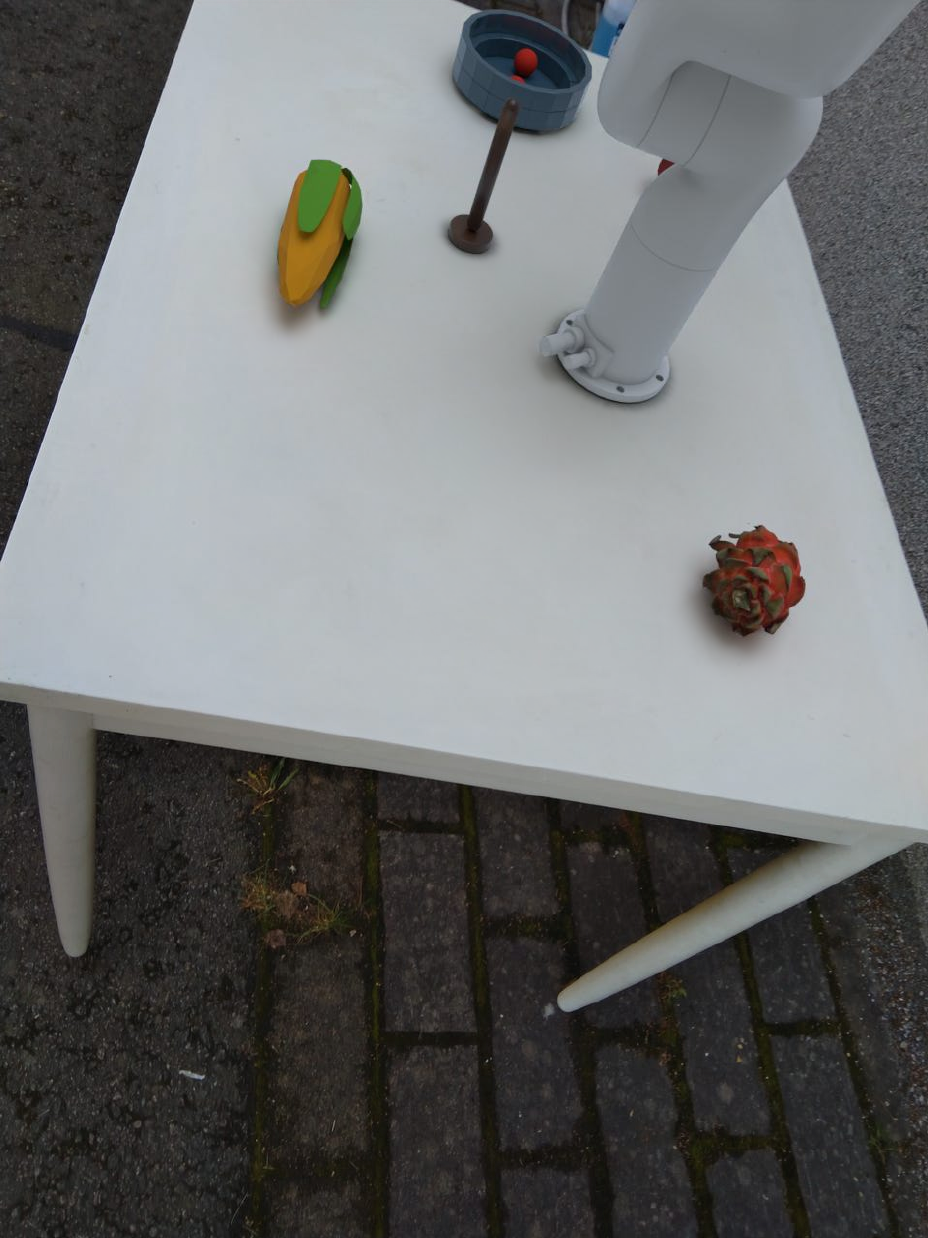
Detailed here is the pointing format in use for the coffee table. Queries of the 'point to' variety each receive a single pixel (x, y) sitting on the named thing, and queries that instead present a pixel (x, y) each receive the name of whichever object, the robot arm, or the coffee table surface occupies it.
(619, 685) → the coffee table surface
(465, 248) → the brown disc-base rod
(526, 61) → the tomato
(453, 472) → the coffee table surface
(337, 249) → the corn
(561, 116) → the bowl
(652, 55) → the robot arm
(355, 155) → the coffee table surface
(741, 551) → the dragon fruit
